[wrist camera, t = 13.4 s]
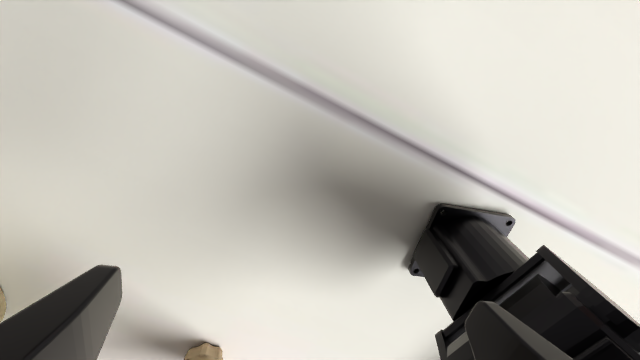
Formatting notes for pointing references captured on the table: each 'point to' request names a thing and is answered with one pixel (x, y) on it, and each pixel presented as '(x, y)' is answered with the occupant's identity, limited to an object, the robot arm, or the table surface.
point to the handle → (204, 353)
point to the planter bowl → (2, 305)
